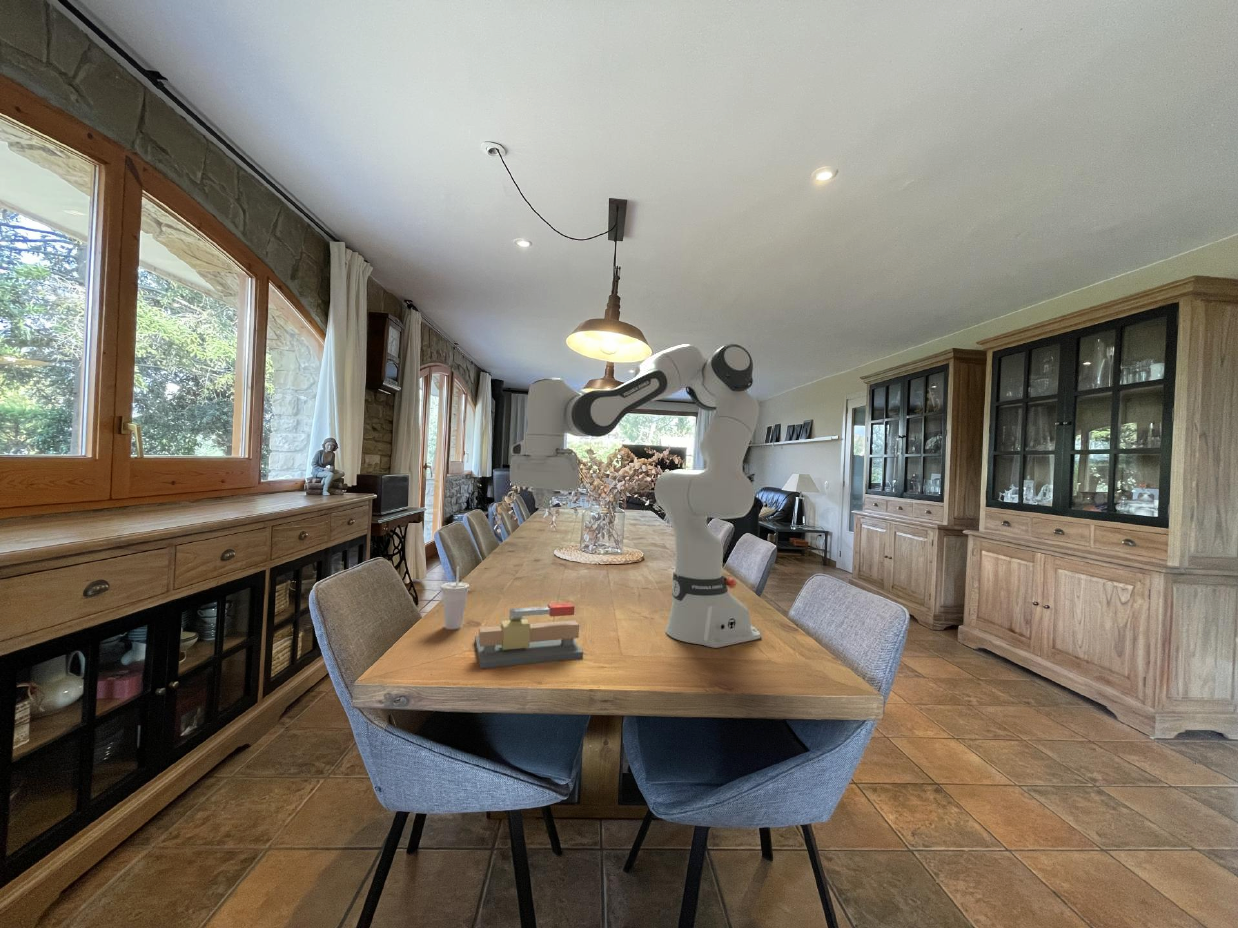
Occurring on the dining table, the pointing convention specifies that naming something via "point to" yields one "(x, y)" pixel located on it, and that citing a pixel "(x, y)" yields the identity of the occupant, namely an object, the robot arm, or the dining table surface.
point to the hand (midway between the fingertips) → (542, 508)
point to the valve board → (528, 653)
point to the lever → (542, 611)
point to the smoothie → (454, 602)
